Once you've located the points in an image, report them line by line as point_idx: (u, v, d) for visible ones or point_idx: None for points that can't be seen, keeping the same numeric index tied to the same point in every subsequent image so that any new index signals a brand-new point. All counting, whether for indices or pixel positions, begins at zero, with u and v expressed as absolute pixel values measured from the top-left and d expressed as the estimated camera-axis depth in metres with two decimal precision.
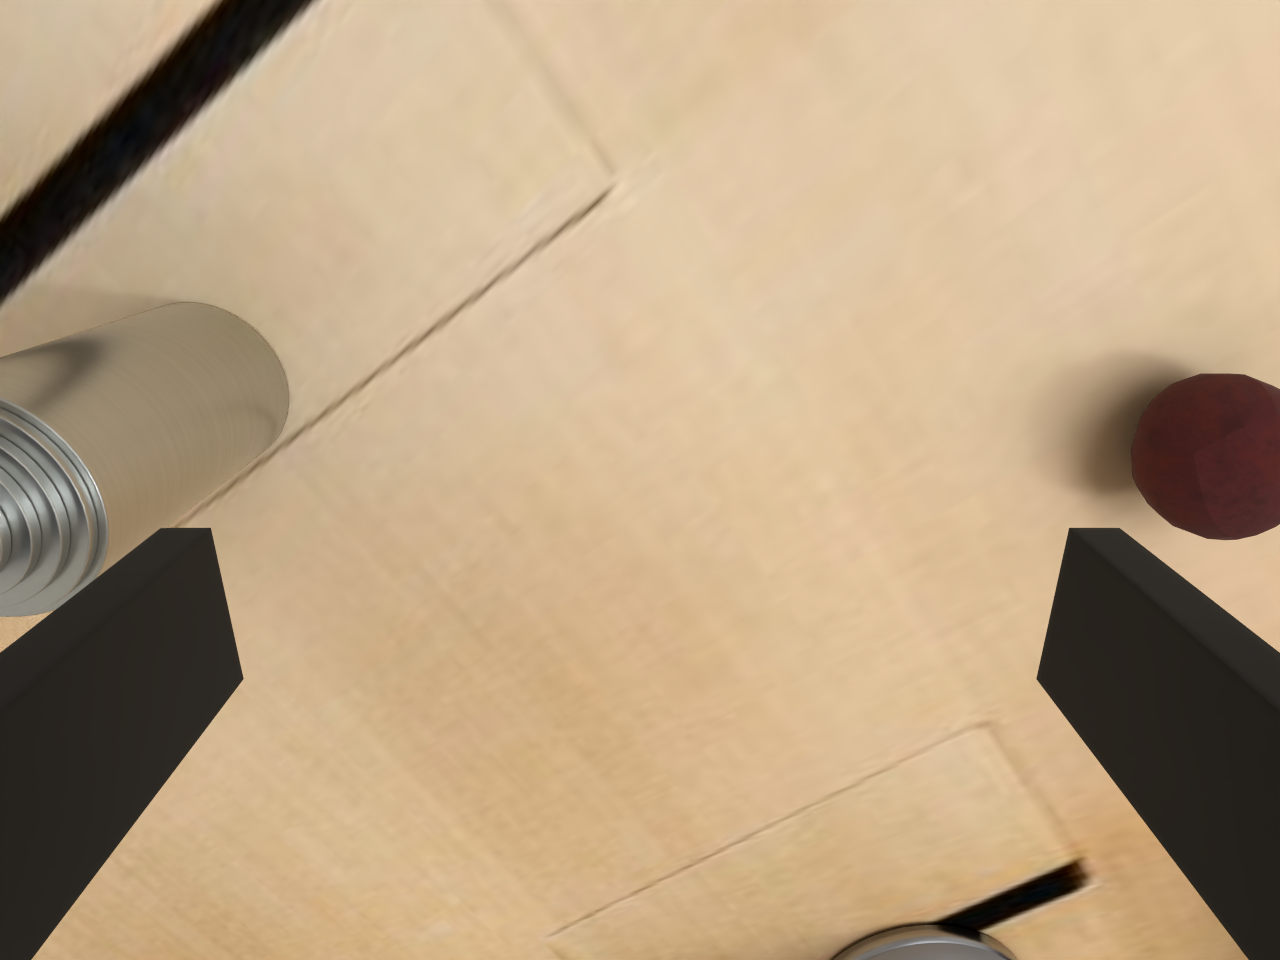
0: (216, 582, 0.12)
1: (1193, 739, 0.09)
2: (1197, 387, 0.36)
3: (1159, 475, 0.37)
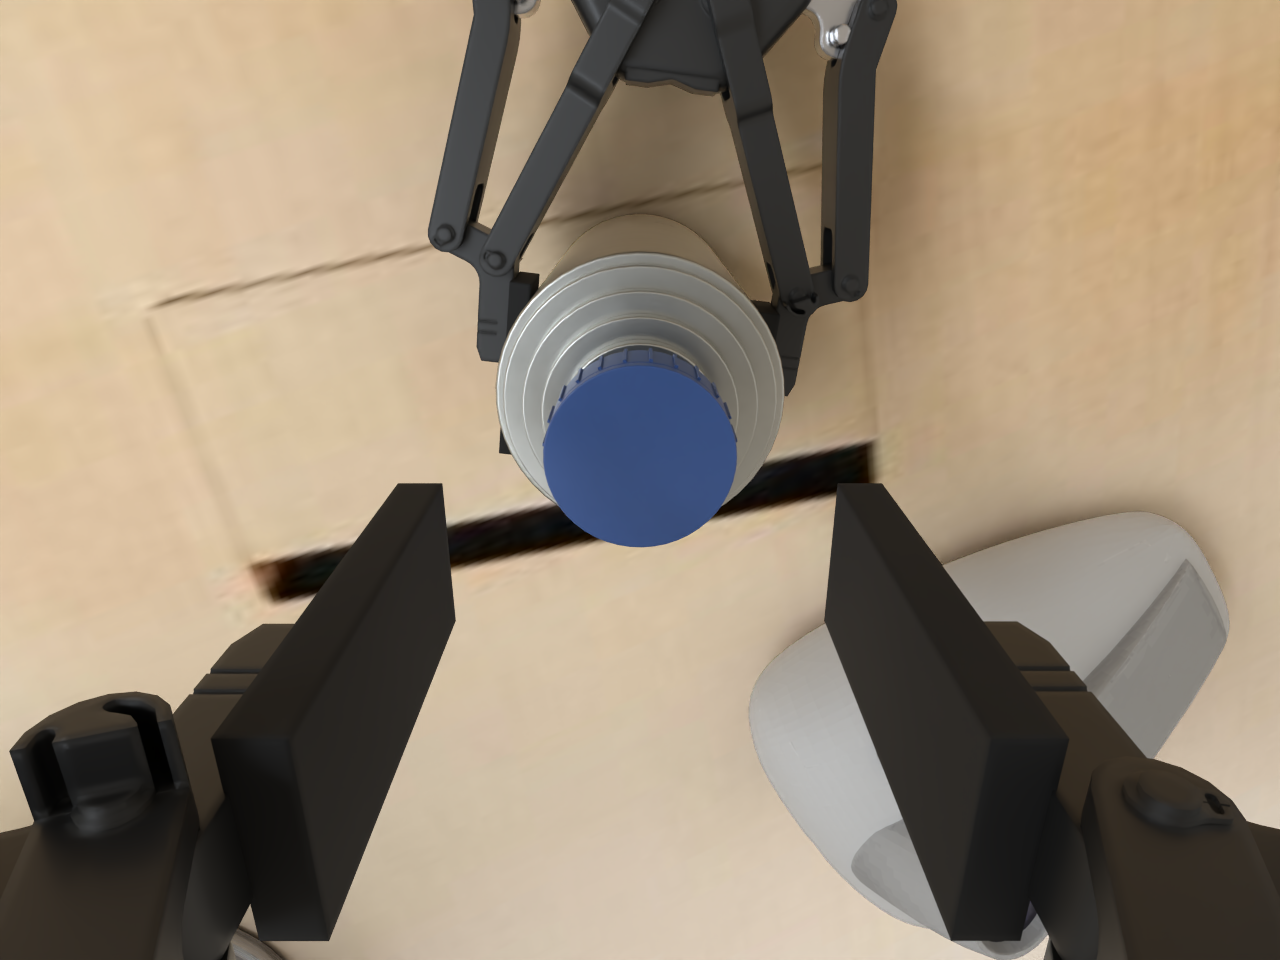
0: (444, 532, 0.14)
1: (886, 652, 0.11)
2: None
3: None
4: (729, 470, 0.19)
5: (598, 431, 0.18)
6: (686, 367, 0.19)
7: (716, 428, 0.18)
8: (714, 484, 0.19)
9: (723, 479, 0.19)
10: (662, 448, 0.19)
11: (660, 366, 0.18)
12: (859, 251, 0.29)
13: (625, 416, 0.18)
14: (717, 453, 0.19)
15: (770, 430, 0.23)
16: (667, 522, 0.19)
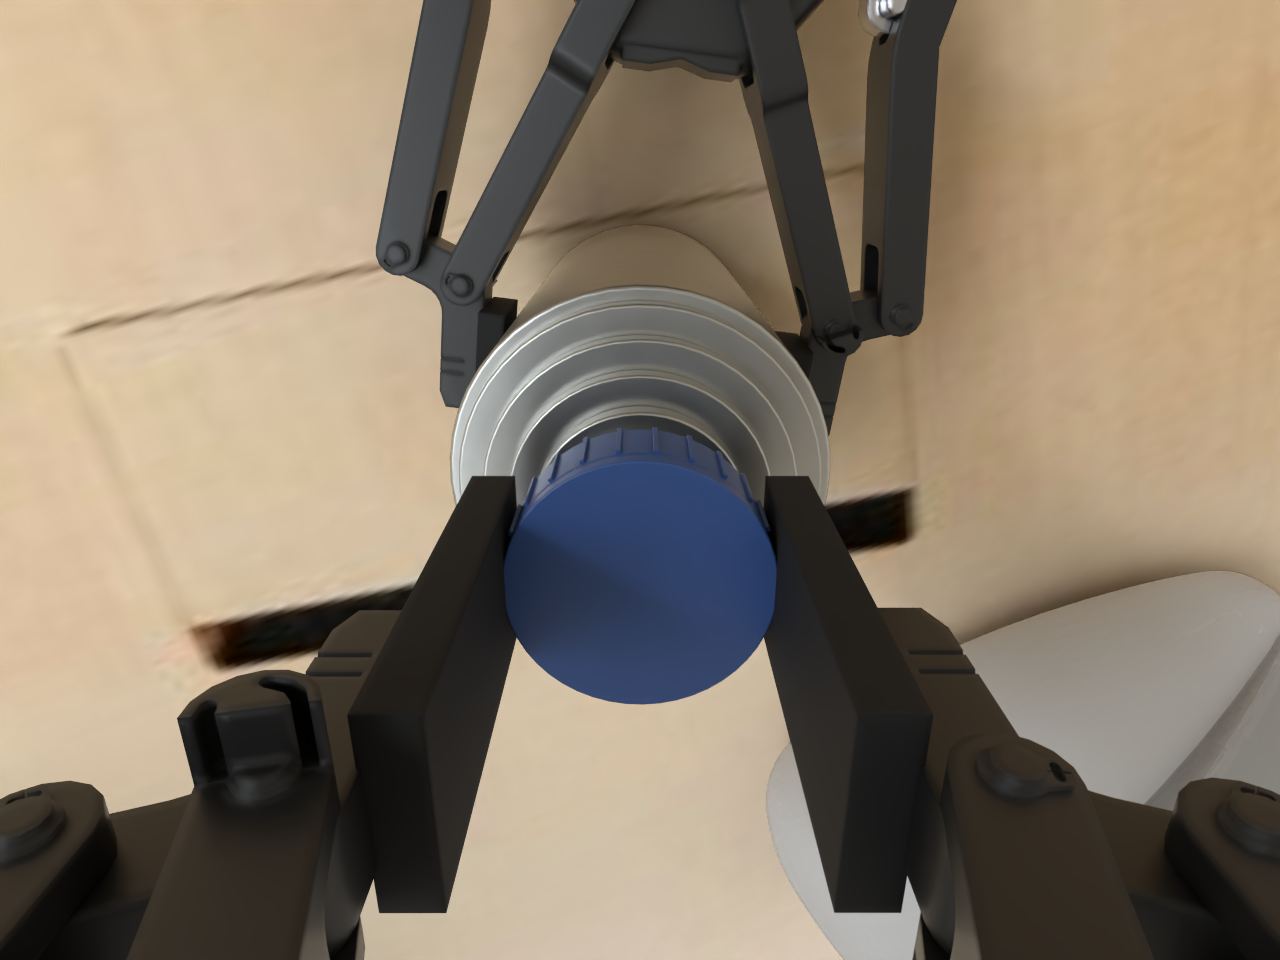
0: None
1: (795, 638, 0.11)
2: None
3: None
4: (767, 603, 0.13)
5: (581, 551, 0.13)
6: (706, 457, 0.13)
7: (750, 547, 0.13)
8: (745, 622, 0.13)
9: (758, 615, 0.13)
10: (672, 574, 0.13)
11: (669, 461, 0.12)
12: (913, 274, 0.23)
13: (619, 531, 0.13)
14: (750, 581, 0.13)
15: None
16: (678, 672, 0.14)
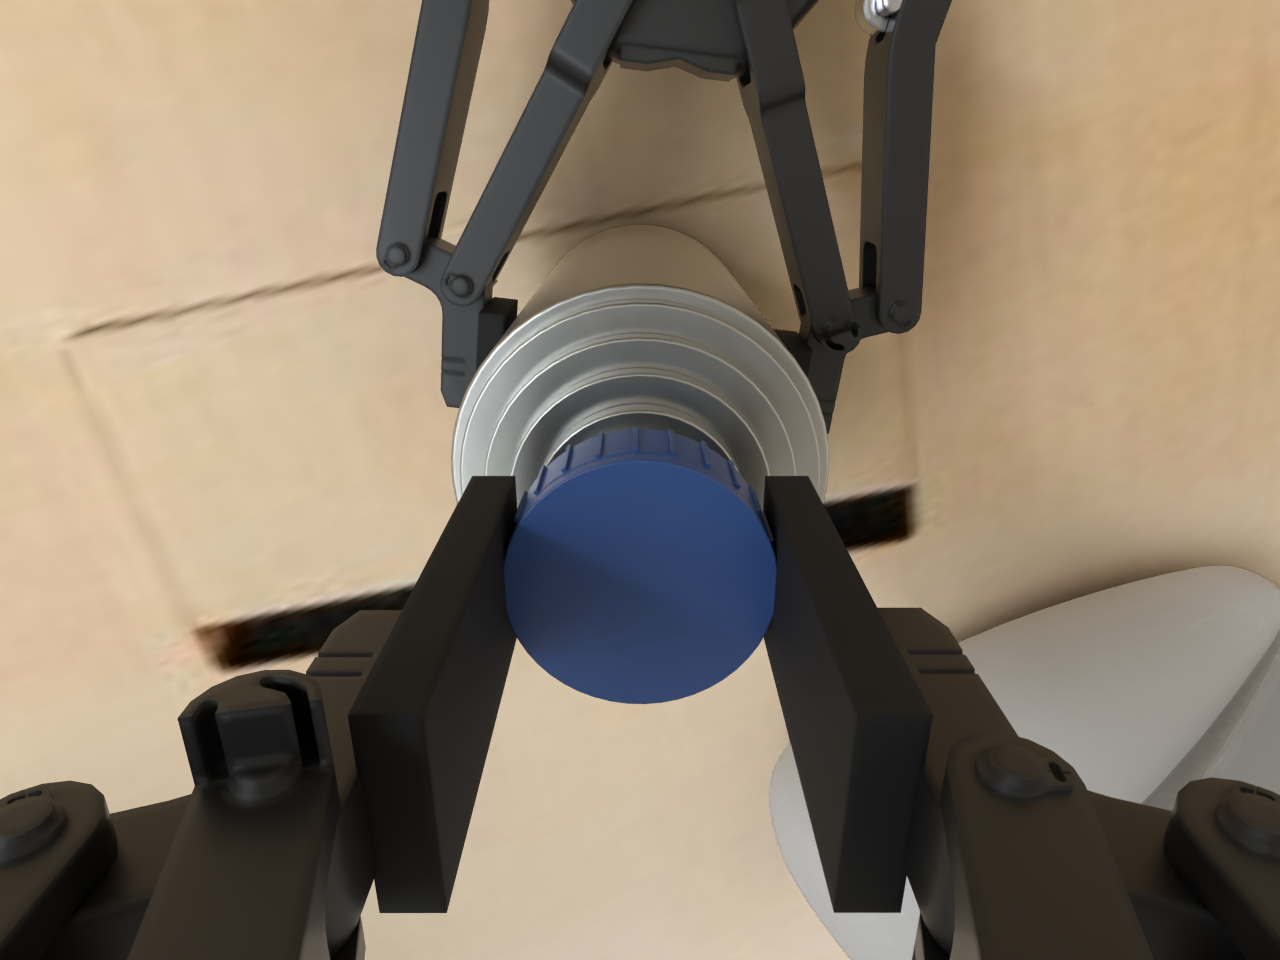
0: None
1: (795, 638, 0.11)
2: None
3: None
4: (602, 474, 0.12)
5: (622, 650, 0.14)
6: None
7: (550, 517, 0.13)
8: (631, 485, 0.12)
9: (618, 476, 0.12)
10: (610, 571, 0.13)
11: (507, 610, 0.13)
12: (911, 272, 0.23)
13: (588, 628, 0.13)
14: (584, 501, 0.13)
15: None
16: (716, 522, 0.13)
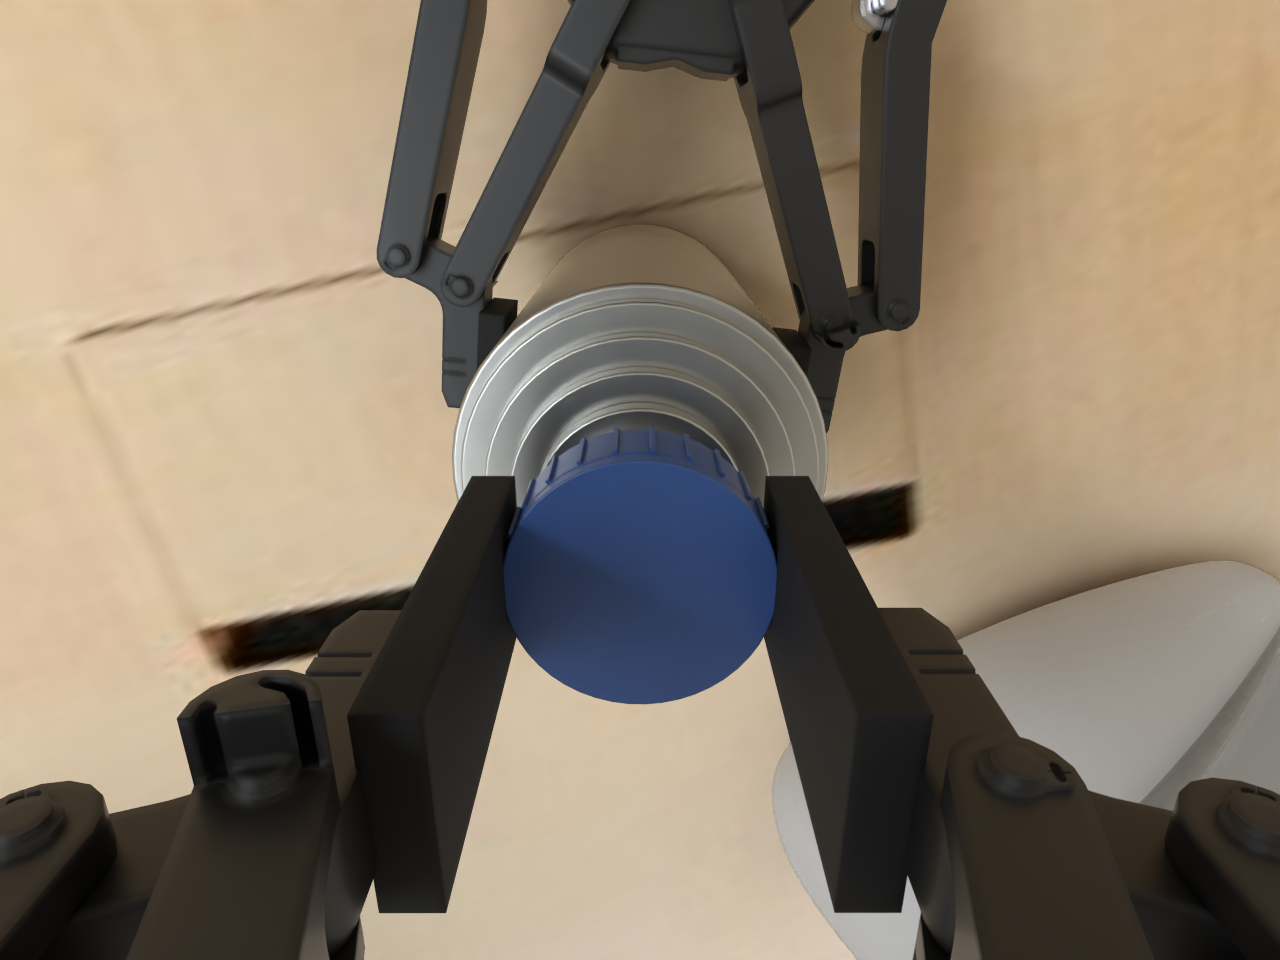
0: None
1: (795, 638, 0.11)
2: None
3: None
4: (543, 659, 0.14)
5: (712, 581, 0.13)
6: None
7: (602, 683, 0.14)
8: (541, 635, 0.13)
9: (538, 647, 0.14)
10: (631, 622, 0.13)
11: None
12: (909, 269, 0.23)
13: (700, 617, 0.13)
14: (574, 664, 0.14)
15: None
16: (540, 556, 0.13)
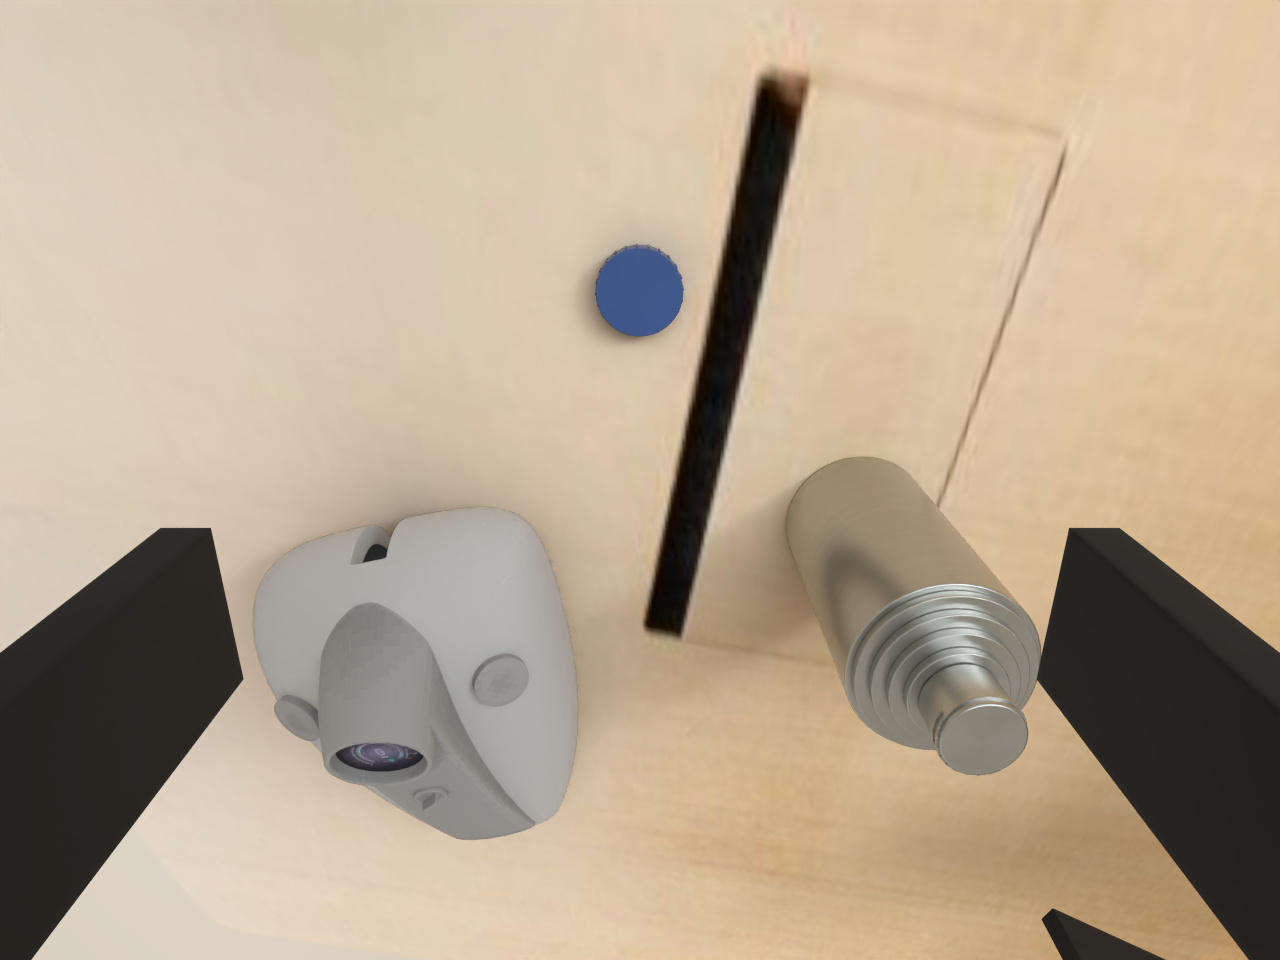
0: (217, 582, 0.12)
1: (1193, 739, 0.09)
2: None
3: None
4: (675, 312, 0.42)
5: (627, 273, 0.41)
6: (672, 261, 0.42)
7: (676, 290, 0.42)
8: (666, 315, 0.42)
9: (671, 315, 0.42)
10: (650, 291, 0.42)
11: (663, 254, 0.41)
12: None
13: (640, 270, 0.41)
14: (672, 302, 0.42)
15: (888, 737, 0.35)
16: (640, 326, 0.42)
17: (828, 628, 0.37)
